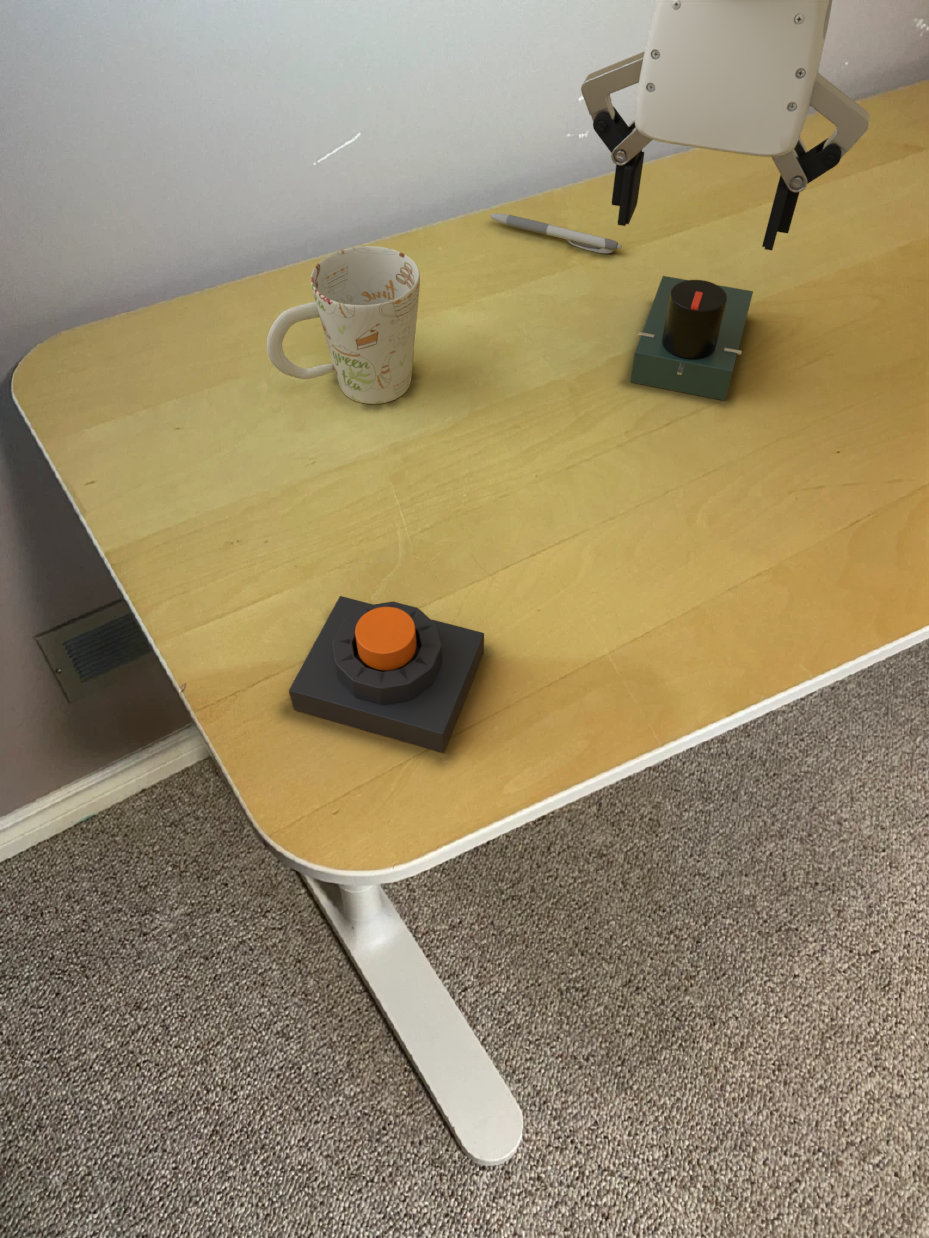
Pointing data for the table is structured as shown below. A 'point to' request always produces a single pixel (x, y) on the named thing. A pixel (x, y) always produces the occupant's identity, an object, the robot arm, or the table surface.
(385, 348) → the mug
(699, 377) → the dial panel
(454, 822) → the table surface
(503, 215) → the pen
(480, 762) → the table surface
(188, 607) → the table surface
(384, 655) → the round orange button
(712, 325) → the dial
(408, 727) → the push button box
